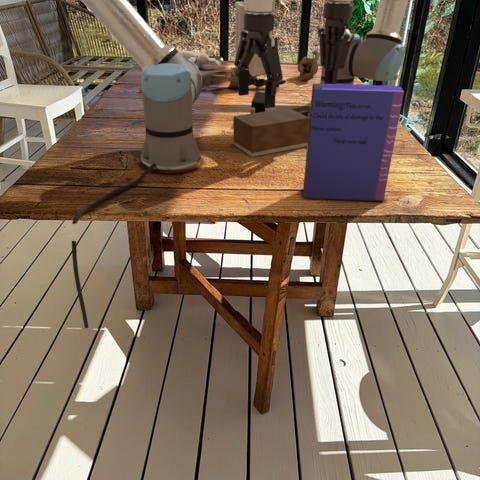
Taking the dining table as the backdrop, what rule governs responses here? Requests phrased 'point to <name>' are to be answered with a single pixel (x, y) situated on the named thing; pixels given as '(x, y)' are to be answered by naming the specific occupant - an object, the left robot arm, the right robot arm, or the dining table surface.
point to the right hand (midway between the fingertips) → (328, 93)
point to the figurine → (235, 79)
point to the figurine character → (258, 103)
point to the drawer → (305, 113)
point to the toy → (199, 58)
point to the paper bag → (256, 62)
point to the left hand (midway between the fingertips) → (256, 101)
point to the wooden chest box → (270, 131)
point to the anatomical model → (308, 66)
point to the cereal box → (351, 141)
